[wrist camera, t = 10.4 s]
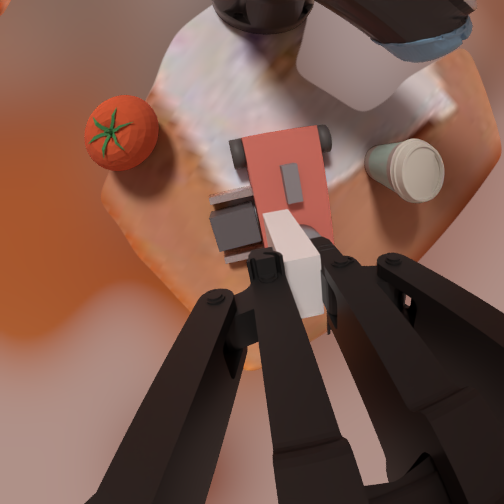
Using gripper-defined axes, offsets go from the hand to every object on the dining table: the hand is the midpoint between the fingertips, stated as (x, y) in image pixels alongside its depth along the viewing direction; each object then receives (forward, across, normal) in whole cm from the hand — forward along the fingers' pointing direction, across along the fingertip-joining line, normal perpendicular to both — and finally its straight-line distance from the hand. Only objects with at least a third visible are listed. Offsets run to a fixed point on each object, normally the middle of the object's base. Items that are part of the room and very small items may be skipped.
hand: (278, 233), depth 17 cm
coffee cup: (+26, +21, -1) cm, 33 cm away
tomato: (+25, -16, +10) cm, 31 cm away
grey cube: (+25, -4, -6) cm, 26 cm away
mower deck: (+25, +5, -6) cm, 26 cm away
